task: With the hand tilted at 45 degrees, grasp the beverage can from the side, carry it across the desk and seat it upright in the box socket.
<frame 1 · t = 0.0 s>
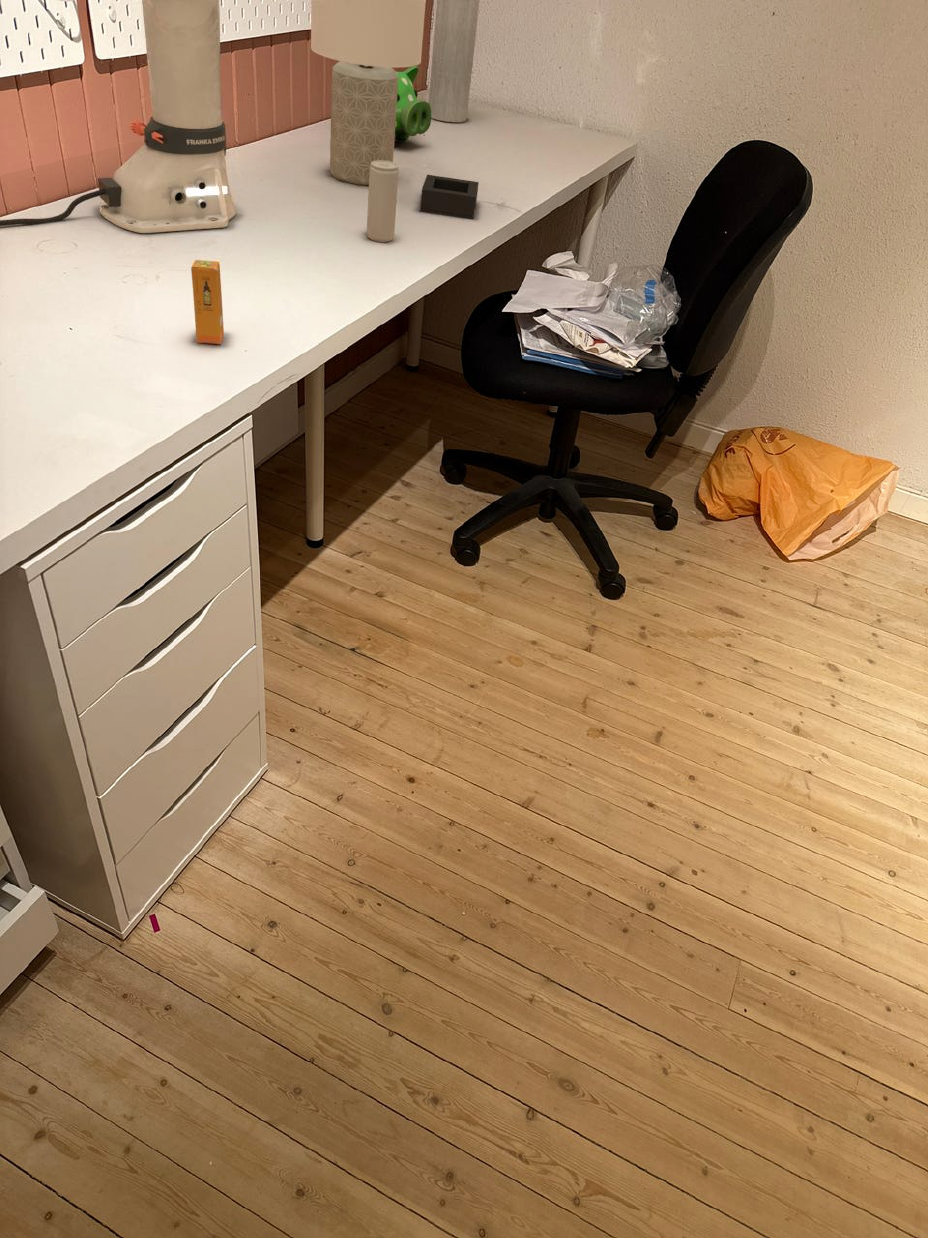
box socket: (448, 207, 179), on the table
vase: (446, 118, 235), on the table
lamp: (360, 177, 187), on the table
supplement box: (210, 340, 123), on the table
piggy bank: (384, 141, 211), on the table
beverage can: (380, 239, 161), on the table
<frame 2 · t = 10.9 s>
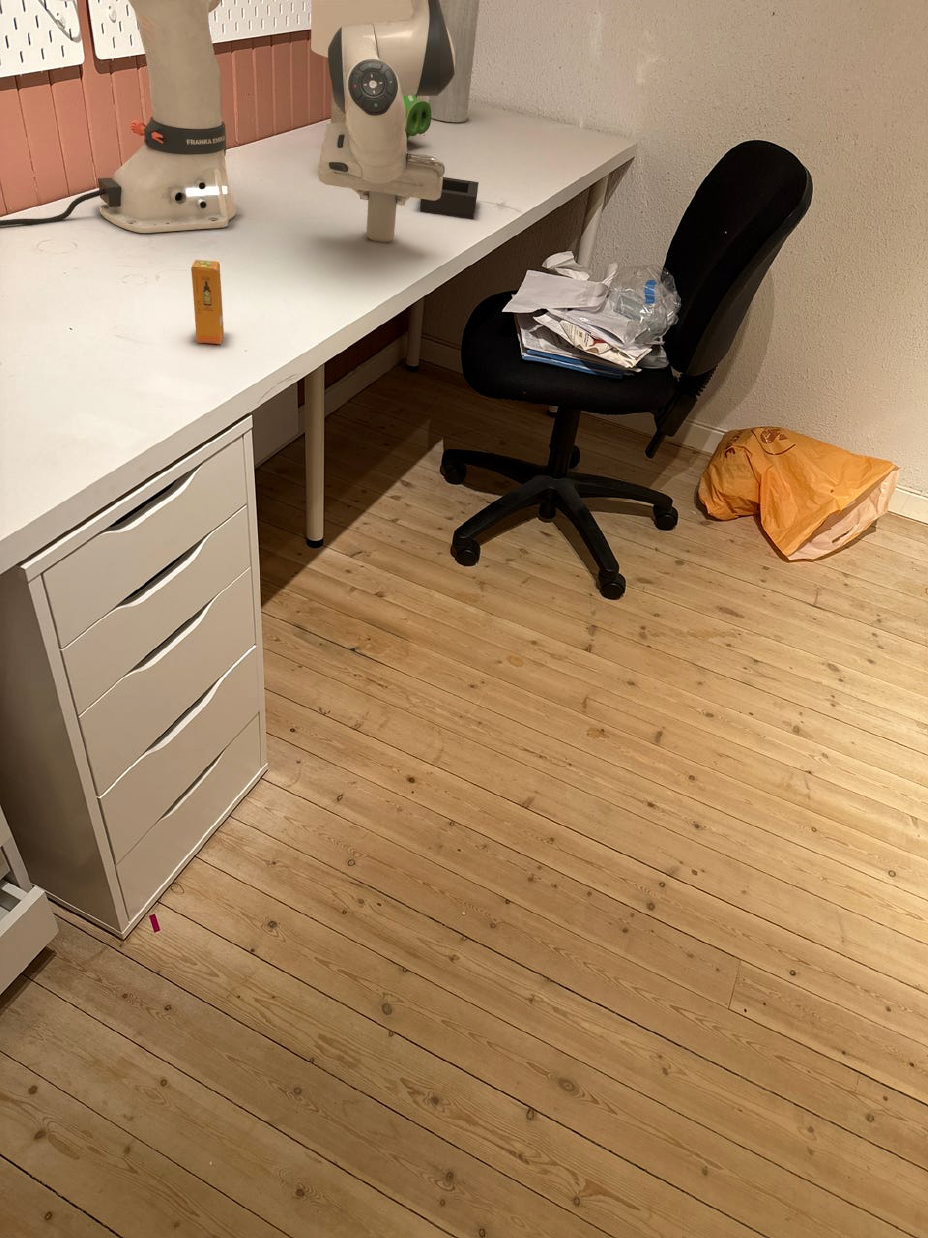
hand: (382, 198, 157), 6 cm above the table, tool tilted 45°, fingers closed on beverage can, 5 cm apart
beverage can: (380, 239, 161), on the table, touching gripper
everything else where it was.
when the fingers open (7 cm above the table, at t = 19.7 s): beverage can stays where it is, resting on box socket.
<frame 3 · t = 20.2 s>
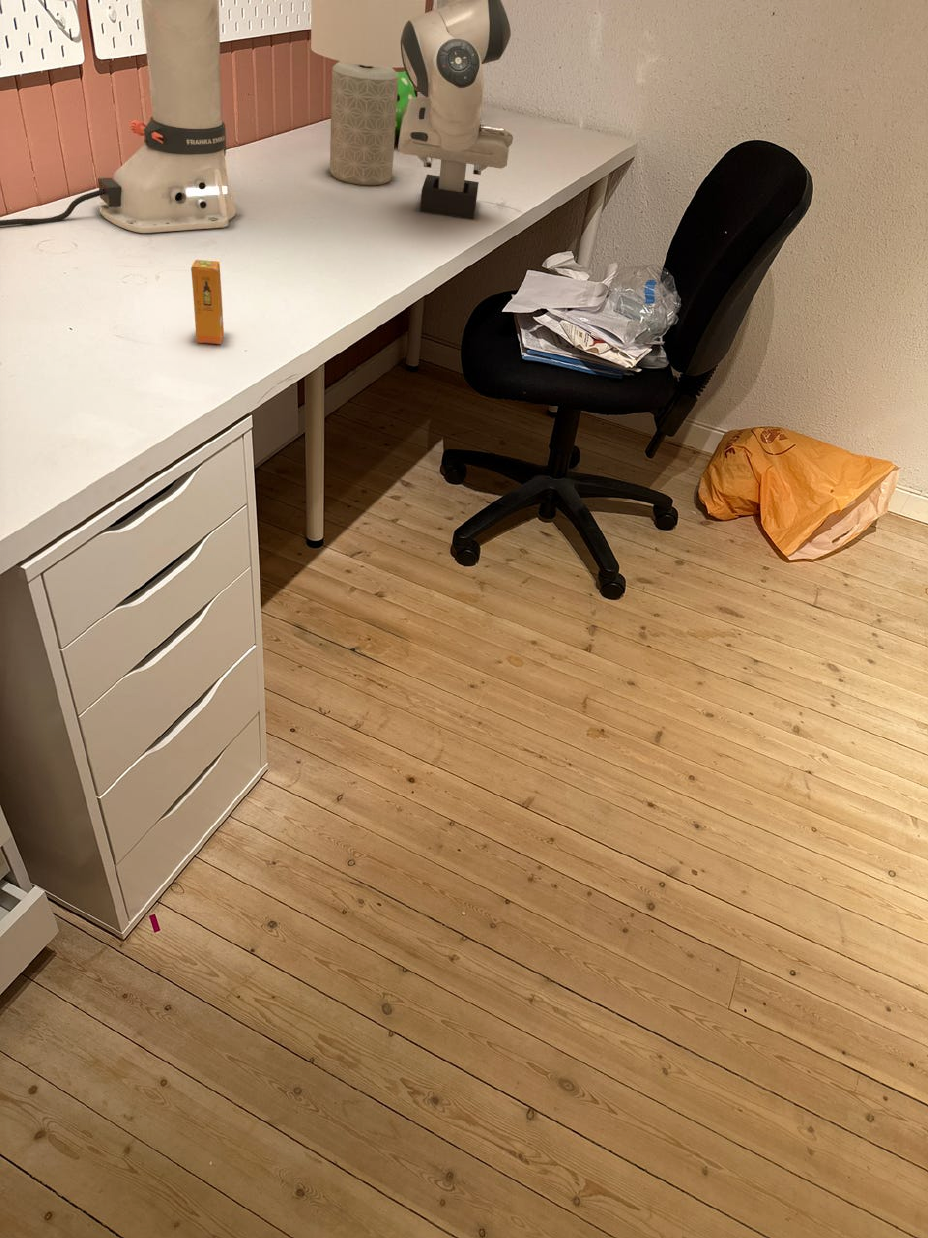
hand: (452, 167, 175), 7 cm above the table, tool tilted 45°, fingers open, 8 cm apart
beverage can: (449, 205, 178), resting on box socket
everything else where it was.
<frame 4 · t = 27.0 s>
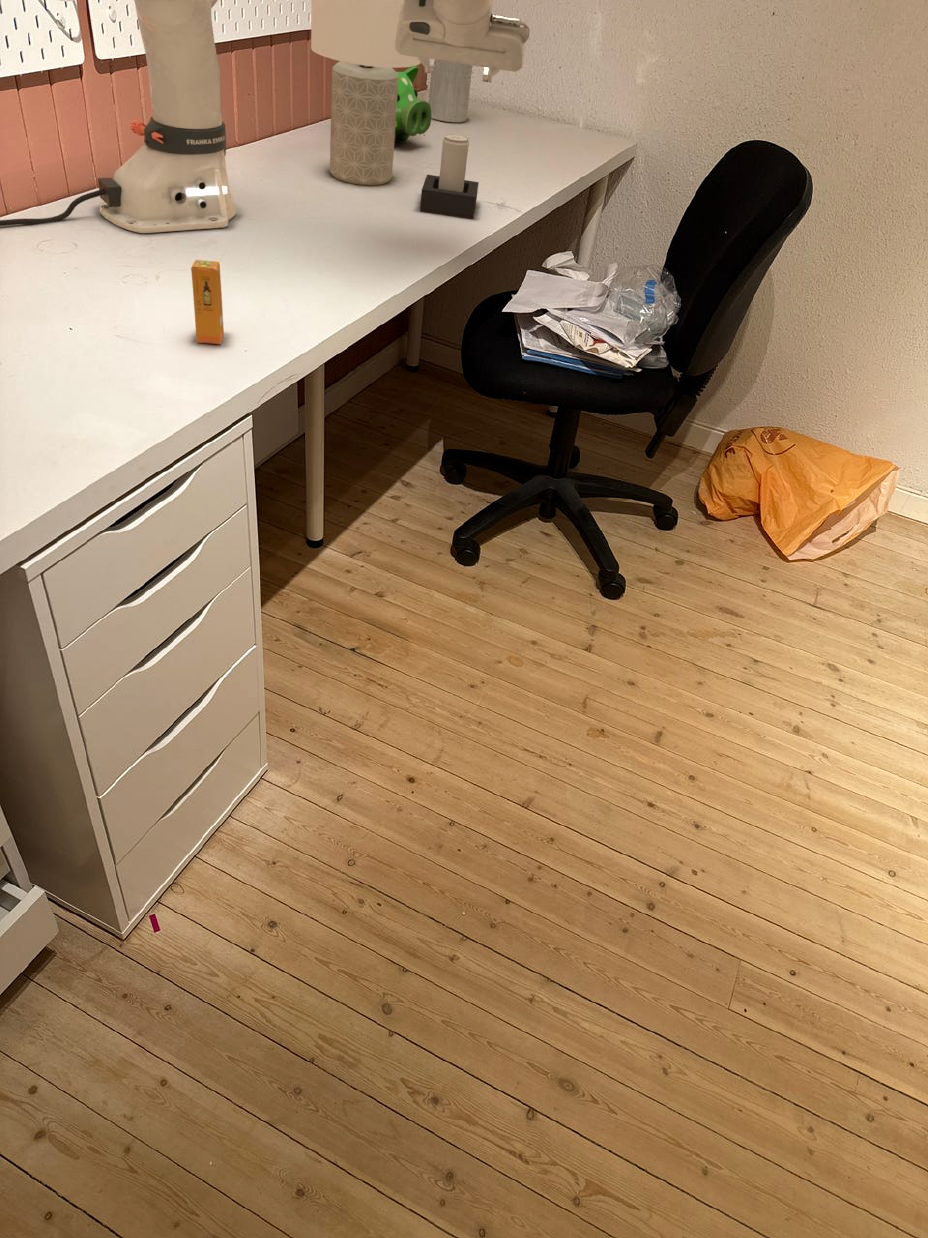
hand: (458, 73, 150), 25 cm above the table, tool tilted 45°, fingers open, 8 cm apart
nothing on the table moved.
at the end: beverage can 0.1 cm off-centre in the box socket, point 0.3 cm above the box socket's base; beverage can tilted 0°; the gripper is holding nothing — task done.
